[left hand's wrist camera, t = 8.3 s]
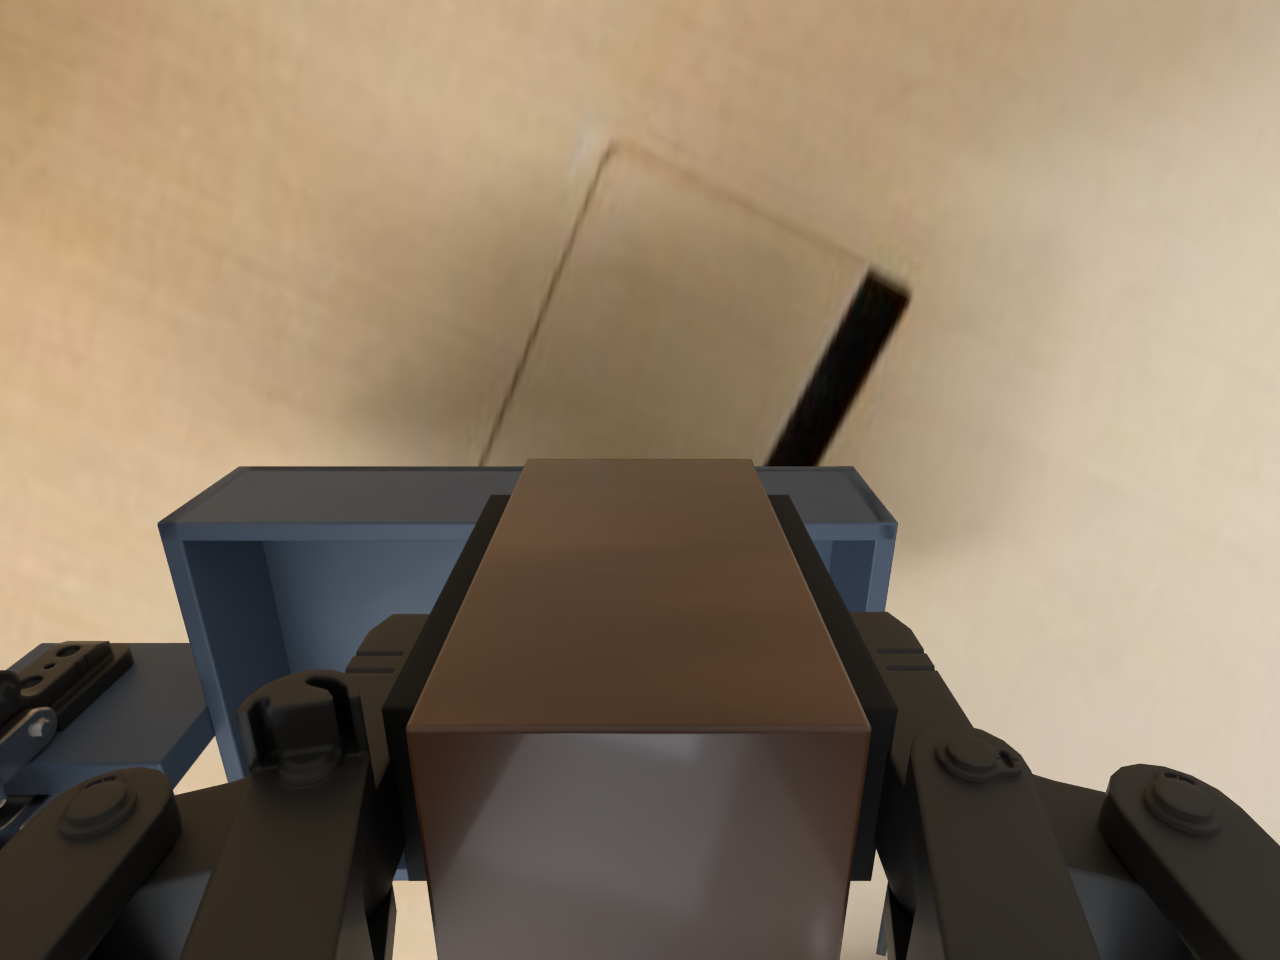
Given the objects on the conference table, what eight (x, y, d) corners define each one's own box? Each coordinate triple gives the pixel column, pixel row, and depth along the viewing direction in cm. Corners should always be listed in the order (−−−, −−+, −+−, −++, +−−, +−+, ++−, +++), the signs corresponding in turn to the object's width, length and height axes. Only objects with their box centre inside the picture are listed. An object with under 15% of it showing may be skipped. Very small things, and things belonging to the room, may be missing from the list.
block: (752, 457, 14) (874, 729, 7) (740, 650, 16) (830, 1040, 8) (526, 457, 14) (401, 727, 7) (538, 649, 16) (446, 1040, 8)
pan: (853, 465, 25) (930, 562, 18) (815, 782, 30) (864, 944, 24) (4, 465, 25) (-222, 563, 18) (116, 784, 30) (-28, 948, 23)
